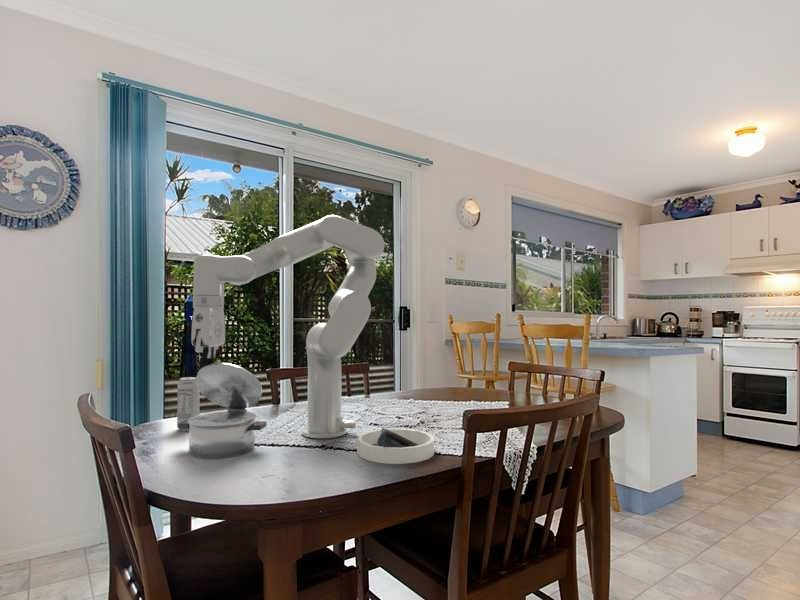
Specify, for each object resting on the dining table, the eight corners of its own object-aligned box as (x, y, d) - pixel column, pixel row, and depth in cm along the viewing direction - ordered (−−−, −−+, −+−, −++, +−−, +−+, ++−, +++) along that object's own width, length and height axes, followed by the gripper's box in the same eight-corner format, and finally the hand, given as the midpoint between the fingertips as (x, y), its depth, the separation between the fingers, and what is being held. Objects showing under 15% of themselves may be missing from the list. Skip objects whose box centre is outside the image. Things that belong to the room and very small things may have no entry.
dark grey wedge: (422, 452, 126) (388, 418, 127) (428, 452, 119) (393, 416, 120) (397, 482, 123) (362, 447, 124) (401, 483, 116) (365, 446, 117)
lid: (267, 412, 134) (271, 401, 137) (251, 367, 123) (256, 356, 126) (206, 411, 136) (212, 400, 139) (185, 366, 124) (191, 355, 127)
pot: (275, 440, 135) (276, 410, 135) (250, 460, 117) (251, 426, 117) (200, 438, 137) (200, 409, 137) (164, 457, 119) (164, 424, 119)
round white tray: (434, 442, 133) (434, 429, 133) (433, 464, 114) (433, 449, 114) (364, 440, 135) (364, 427, 135) (351, 462, 116) (351, 447, 116)
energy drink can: (203, 427, 148) (204, 377, 148) (188, 432, 143) (188, 380, 143) (188, 426, 150) (188, 376, 151) (172, 430, 145) (172, 379, 145)
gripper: (209, 302, 121) (207, 377, 121) (234, 303, 136) (233, 370, 136) (179, 302, 122) (177, 376, 122) (208, 302, 137) (206, 369, 137)
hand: (206, 373), depth 129 cm, fingers closed
